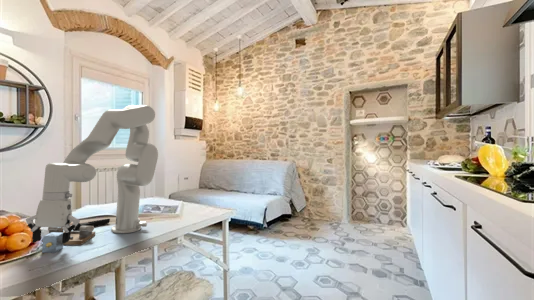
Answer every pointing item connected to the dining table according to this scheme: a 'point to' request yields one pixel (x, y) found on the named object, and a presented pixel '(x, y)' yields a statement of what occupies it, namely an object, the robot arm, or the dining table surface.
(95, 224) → the electric trimmer
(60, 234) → the blue grey block
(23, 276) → the dining table surface
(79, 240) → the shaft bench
